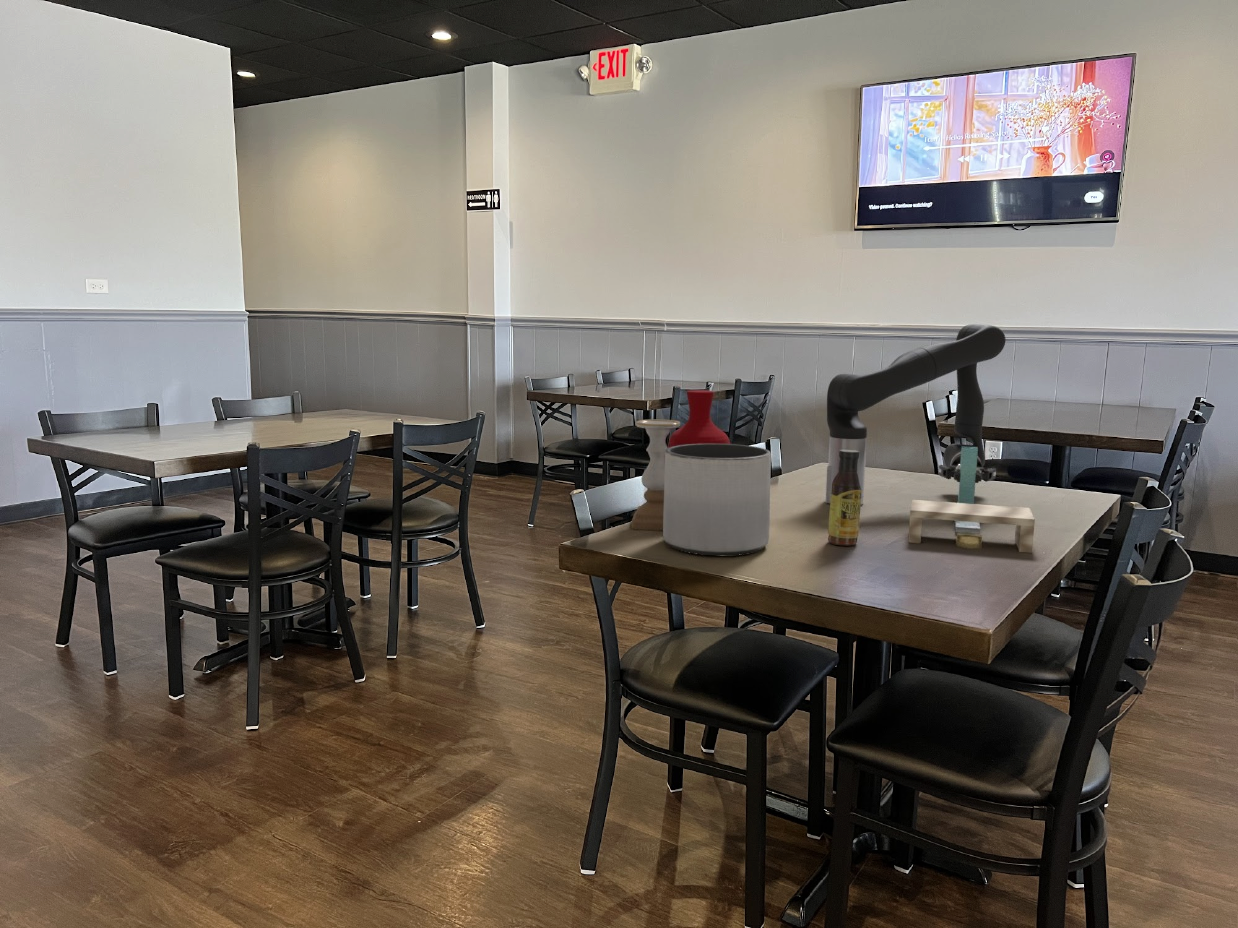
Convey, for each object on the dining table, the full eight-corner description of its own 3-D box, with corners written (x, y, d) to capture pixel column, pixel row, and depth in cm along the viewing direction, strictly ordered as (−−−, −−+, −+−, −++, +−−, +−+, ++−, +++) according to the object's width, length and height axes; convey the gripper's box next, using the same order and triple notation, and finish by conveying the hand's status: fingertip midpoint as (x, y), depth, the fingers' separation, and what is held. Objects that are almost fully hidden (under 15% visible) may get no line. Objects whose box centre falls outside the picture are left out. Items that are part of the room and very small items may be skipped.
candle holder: (681, 520, 207) (683, 419, 203) (679, 531, 196) (681, 424, 192) (635, 519, 208) (635, 418, 204) (631, 529, 197) (631, 424, 194)
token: (956, 548, 183) (957, 536, 183) (955, 542, 188) (956, 531, 188) (982, 550, 182) (982, 538, 181) (980, 544, 186) (981, 533, 186)
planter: (705, 564, 169) (708, 461, 166) (642, 540, 188) (643, 447, 185) (791, 549, 181) (794, 453, 178) (723, 528, 199) (725, 440, 196)
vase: (674, 506, 222) (677, 388, 217) (733, 510, 218) (736, 389, 213) (660, 518, 208) (662, 392, 203) (722, 523, 204) (725, 394, 199)
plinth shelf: (908, 542, 187) (910, 510, 186) (910, 530, 199) (912, 499, 197) (1032, 552, 179) (1034, 519, 178) (1026, 539, 191) (1029, 507, 189)
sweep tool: (955, 532, 195) (960, 460, 192) (953, 510, 217) (958, 446, 214) (980, 534, 193) (985, 462, 190) (975, 511, 215) (980, 447, 212)
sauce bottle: (841, 548, 182) (845, 453, 179) (821, 541, 187) (825, 449, 184) (865, 544, 185) (870, 451, 182) (844, 538, 190) (849, 447, 187)
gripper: (937, 450, 228) (937, 461, 212) (996, 453, 223) (1001, 464, 207) (935, 479, 229) (935, 491, 213) (994, 483, 224) (999, 495, 208)
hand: (968, 478), depth 210 cm, fingers closed on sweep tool, 3 cm apart
